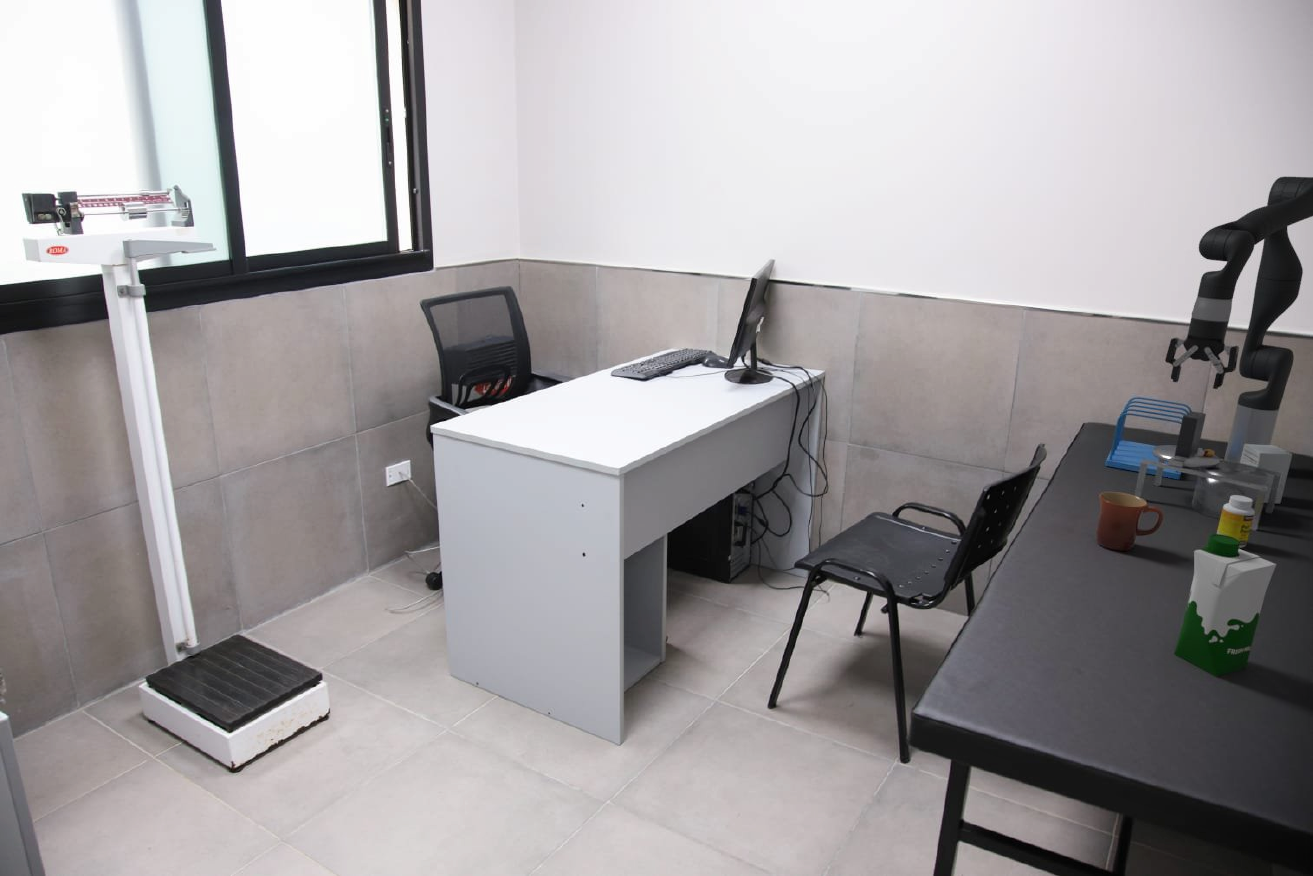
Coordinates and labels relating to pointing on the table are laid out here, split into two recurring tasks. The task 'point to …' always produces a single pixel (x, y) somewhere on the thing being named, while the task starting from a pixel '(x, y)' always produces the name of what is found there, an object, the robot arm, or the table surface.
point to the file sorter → (1132, 452)
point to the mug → (1122, 520)
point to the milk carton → (1223, 606)
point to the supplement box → (1268, 464)
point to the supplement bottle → (1237, 519)
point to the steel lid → (1188, 446)
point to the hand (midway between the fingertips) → (1195, 385)
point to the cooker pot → (1222, 486)
